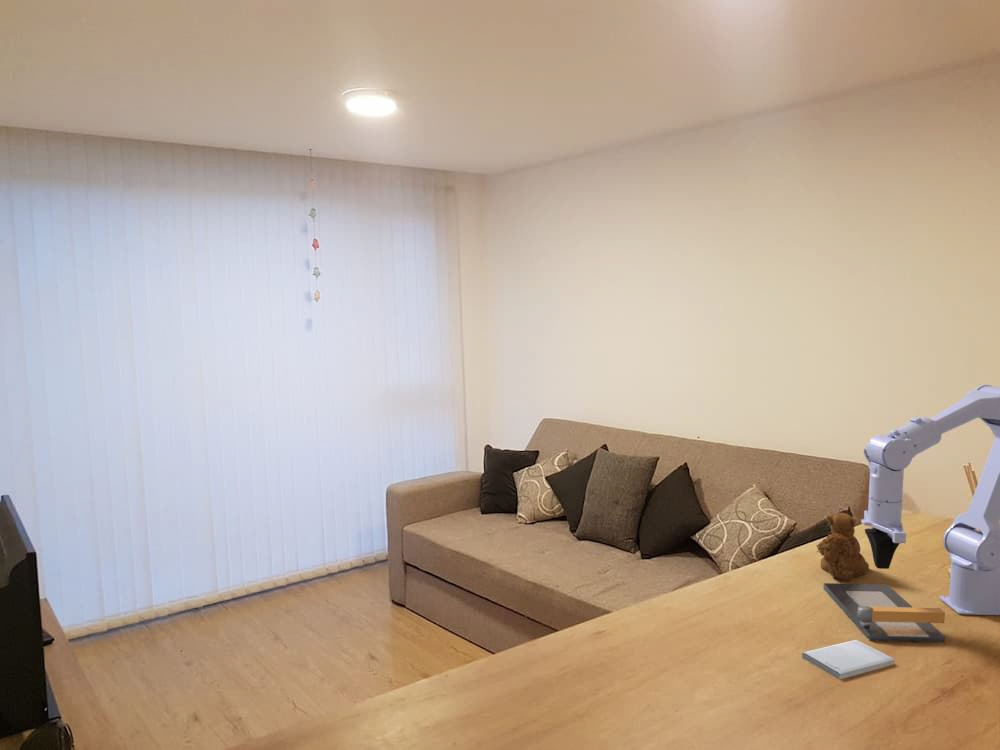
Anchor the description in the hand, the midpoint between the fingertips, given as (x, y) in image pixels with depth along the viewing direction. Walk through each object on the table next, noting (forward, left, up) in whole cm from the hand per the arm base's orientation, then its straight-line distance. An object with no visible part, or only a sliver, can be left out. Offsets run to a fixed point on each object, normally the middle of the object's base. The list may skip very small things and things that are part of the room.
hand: (881, 567), depth 146 cm
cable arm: (0, +8, -7) cm, 11 cm away
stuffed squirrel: (-1, -22, -10) cm, 24 cm away
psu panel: (0, 0, -9) cm, 9 cm away
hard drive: (+13, +19, -10) cm, 26 cm away
